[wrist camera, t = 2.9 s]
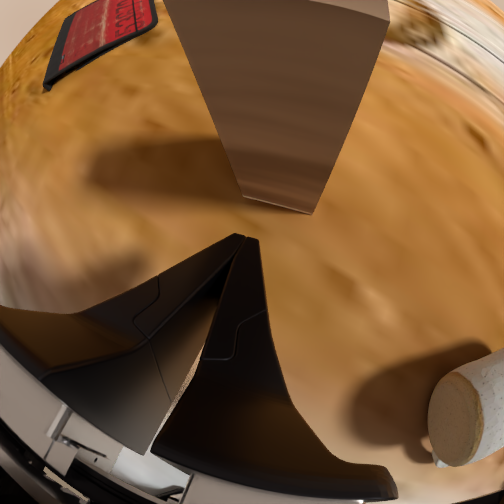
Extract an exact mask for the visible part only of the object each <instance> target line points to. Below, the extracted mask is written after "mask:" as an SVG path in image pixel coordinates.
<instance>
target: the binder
mask: <svg viewBox="0 0 504 504" xmlns="http://www.w3.org/2000/svg"><path fill="white" fill-rule="evenodd" d="M157 23H158V17H157V13H156V8H155V4H154V0H97V1H95V2H93V3H91V4H89V5H87V6H85V7H83V8H82V9H80V10H78V11H76V12H74V13H73V14H71V15H70V16H68V17H67V18H65V20H64V22H63V24H62V27H61V30H60V32H59V35H58V37H57V40H56V43H55V46H54V49H53V52H52V55H51V58H50V61H49V64H48V67H47V71H46V74H45V78H44V81H43V87H44V88H45V89H47V90H48V91H50V90H51V88H52V84H53V81H54V79H55V77H57V76H58V75H60V74H62V73H63V72H66V73H67V72H69V71H70V70H72V69H73V68H74V67H75V66H77V65H78V64H79V63H81V62H82V61H87V60H88V61H87V62H85V63H84V64H83V65H81V66H80V67H79V68H78V69H77V70H79V69H81V68H82V67H84V66H85V65H87V64H89V63H90V62H92V61H94V60H95V59H97V58H99V57H100V56H102V55H104V54H105V53H107V52H109V51H111V50H113V49H114V48H116V47H118V46H120V45H122V44H124V43H126V42H128V41H130V40H131V39H133V38H135V37H137V36H140V35H142V34H144V33H146V32H148V31H149V30H151V29H152V28H154V27H155V26H156V25H157ZM77 70H76V71H77Z"/></svg>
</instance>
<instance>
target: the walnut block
mask: <svg viewBox="0 0 504 504" xmlns="http://www.w3.org/2000/svg"><path fill="white" fill-rule="evenodd" d="M163 2H164V4H165V6H166V9H167V11H168V13H169V16H170V18H171V20H172V23H173V25H174V28H175V30H176V32H177V35H178V37H179V39H180V42H181V44H182V47H183V49H184V51H185V54H186V56H187V59H188V61H189V63H190V66H191V68H192V71H193V73H194V76H195V78H196V80H197V83H198V85H199V88H200V90H201V93H202V95H203V97H204V100H205V102H206V105H207V107H208V110H209V112H210V115H211V117H212V120H213V122H214V125H215V127H216V130H217V132H218V135H219V137H220V140H221V142H222V145H223V147H224V150H225V152H226V155H227V157H228V160H229V162H230V165H231V167H232V170H233V172H234V175H235V177H236V180H237V182H238V185H239V187H240V190H241V193H242V195H243V197H246V198H250V199H254V200H258V201H262V202H266V203H270V204H274V205H278V206H281V207H285V208H289V209H293V210H296V211H300V212H303V213H307V214H311V215H312V214H313V212H314V210H315V208H316V205H317V203H318V201H319V199H320V197H321V194H322V192H323V190H324V188H325V185H326V183H327V181H328V179H329V176H330V174H331V172H332V169H333V167H334V165H335V162H336V160H337V158H338V155H339V153H340V151H341V148H342V146H343V144H344V141H345V139H346V136H347V134H348V132H349V129H350V127H351V124H352V122H353V119H354V117H355V114H356V112H357V109H358V107H359V104H360V102H361V99H362V97H363V94H364V92H365V89H366V87H367V84H368V81H369V79H370V76H371V73H372V71H373V68H374V65H375V63H376V60H377V57H378V55H379V52H380V49H381V46H382V43H383V41H384V38H385V35H386V32H387V29H388V26H389V23H390V16H389V8H388V1H387V0H163Z"/></svg>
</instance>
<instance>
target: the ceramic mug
mask: <svg viewBox="0 0 504 504" xmlns="http://www.w3.org/2000/svg"><path fill="white" fill-rule="evenodd" d="M428 433H429V437H430V442H431V445H432V447H433V451H432V457H433V460H434V463H435V465H436V466H437V467H439V468H443V467H448V466H453V467H457V466H463V465H466V464H470V463H473V462H476V461H478V460H481V459H483V458H485V457H486V456H488V455H490V454H492V453H494V452H495V451H497V450H498V449H500V448H502V447H504V348H502V349H500V350H498V351H496V352H494V353H491V354H489V355H487V356H485V357H483V358H480V359H478V360H475V361H472V362H469V363H467V364H464V365H462V366H460V367H458V368H456V369H454V370H453V371H451V372H449V373H448V374H446V375H445V376H444V377H443V378H441V379H440V381H439V382H438V383H437V385H436V387H435V389H434V391H433V393H432V396H431V399H430V403H429V408H428Z"/></svg>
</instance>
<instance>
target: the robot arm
mask: <svg viewBox="0 0 504 504" xmlns="http://www.w3.org/2000/svg"><path fill="white" fill-rule="evenodd" d="M204 343H205V344H204ZM203 345H204V347H203V350H202V353H201V357H200V361H199V363H198V366H197V369H196V372H195V374H194V376H193V378H192V380H191V382H190V383H189V385H188V387H187V388H186V390H185V392H184V393H183V395H182V396H181V398H180V400H179V401H178V403H177V405H176V406H175V408H174V409H173V411H172V413H171V414H170V416H169V417H168V419H167V421H166V422H165V424H164V425H163V427H162V429H161V430H160V432H159V433H158V435H157V437H156V438H155V440H154V442H153V444H152V447H151V450H150V452H151V453H152V454H154V455H155V456H157V457H158V458H160V459H162V460H163V461H165V462H167V463H168V464H170V465H172V466H174V467H175V468H177V469H179V470H181V471H182V472H184V473H186V474H188V475H190V477H189V479H188V482H187V484H186V487H185V489H176V490H173V491H170V492H167V493H164V494H160V495H157V496H152V495H149V494H147V493H145V492H143V491H141V490H139V489H137V488H135V487H133V486H131V485H129V484H127V483H125V482H123V481H121V480H120V479H118V478H116V477H114V476H112V475H111V474H110V472H111V470H112V468H113V466H114V464H115V462H116V460H117V458H118V456H119V454H120V452H121V450H122V448H123V446H125V447H127V448H129V449H131V450H133V451H135V452H136V453H138V454H140V455H143V456H144V454H145V452H146V451H147V449H148V447H149V445H150V443H151V441H152V439H153V438H154V436H155V434H156V432H157V430H158V428H159V426H160V425H161V423H162V421H163V419H164V417H165V415H166V413H167V412H168V410H169V408H170V406H171V403H172V402H173V400H174V398H175V397H176V395H177V393H178V391H179V389H180V387H181V385H182V384H183V382H184V380H185V378H186V376H187V374H188V372H189V371H190V369H191V367H192V365H193V363H194V361H195V359H196V358H197V356H198V354H199V352H200V350H201V348H202V346H203ZM45 466H46V467H47V468H48V469H49V470H51V471H52V472H53V473H54V474H56V475H57V476H58V477H59V478H61V479H62V480H63V481H65V482H66V483H67V484H69V485H70V486H72V487H73V488H74V489H76V490H77V491H79V492H80V493H82V494H83V496H84V497H86V498H89V500H88V502H86V501H85V500H83V499H82V498H80V497H79V496H77V495H76V494H75V493H73V492H71V491H70V490H69V489H68V488H62V486H61V485H60V484H59V483H57V482H56V481H54V480H53V479H51V478H50V477H48V476H46V473H45V472H44V471H43V470H44V467H45ZM395 499H398V490H397V487H396V484H395V482H394V480H393V478H392V476H391V475H390V473H389V471H388V470H387V468H386V467H384V466H380V465H371V464H355V463H349V462H346V461H343V460H341V459H339V458H337V457H336V456H334V455H333V454H332V453H331V452H330V451H329V450H328V449H327V448H326V447H325V446H324V444H323V443H322V442H321V441H320V439H319V438H318V437H317V435H316V434H315V433H314V432H313V430H312V429H311V428H310V426H309V425H308V424H307V423H306V421H305V420H304V419H303V417H302V416H301V415H300V413H299V412H298V411H297V409H296V408H295V406H294V404H293V402H292V400H291V398H290V396H289V393H288V390H287V387H286V384H285V381H284V377H283V374H282V370H281V367H280V364H279V360H278V357H277V354H276V350H275V346H274V342H273V338H272V334H271V328H270V322H269V314H268V307H267V299H266V291H265V284H264V276H263V268H262V260H261V253H260V245H259V240H258V239H255V238H251V237H246V236H244V235H241V234H237V233H233V234H231V235H229V236H228V237H226V238H224V239H222V240H220V241H218V242H216V243H215V244H213V245H211V246H209V247H207V248H205V249H204V250H202V251H200V252H198V253H196V254H194V255H193V256H191V257H189V258H187V259H185V260H184V261H182V262H180V263H178V264H176V265H175V266H173V267H171V268H169V269H167V270H166V271H164V272H162V273H160V274H159V275H158V276H155V277H153V278H151V279H149V280H148V281H146V282H144V283H142V284H140V285H138V286H136V287H135V288H132V289H130V290H128V291H126V292H124V293H122V294H120V295H118V296H115V297H113V298H111V299H109V300H106V301H104V302H102V303H100V304H98V305H95V306H93V307H91V308H89V309H86V310H84V311H81V312H78V313H73V314H59V313H48V312H39V311H30V310H21V309H14V308H8V307H5V306H2V305H0V504H366V502H379V501H388V500H395ZM453 504H504V489H501V490H498V491H495V492H492V493H489V494H486V495H483V496H480V497H476V498H473V499H469V500H465V501H461V502H457V503H453Z"/></svg>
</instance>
